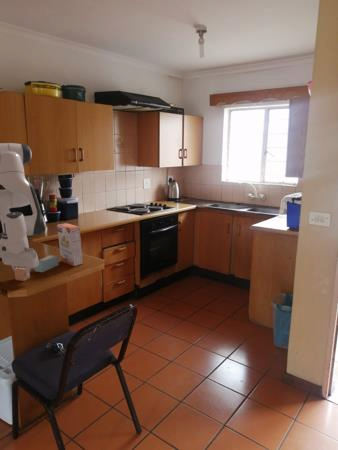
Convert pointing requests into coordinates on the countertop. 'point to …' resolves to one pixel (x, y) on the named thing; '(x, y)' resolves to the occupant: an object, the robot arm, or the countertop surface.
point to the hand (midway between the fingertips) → (22, 274)
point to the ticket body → (47, 263)
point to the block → (21, 274)
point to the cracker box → (70, 244)
